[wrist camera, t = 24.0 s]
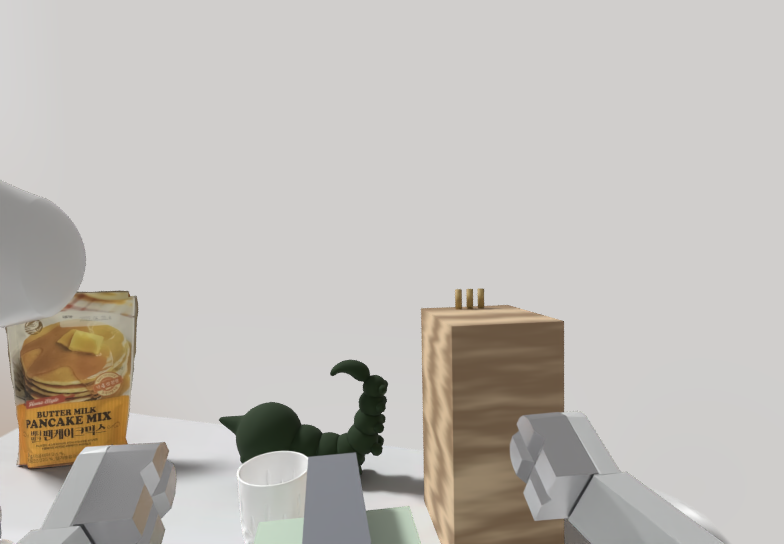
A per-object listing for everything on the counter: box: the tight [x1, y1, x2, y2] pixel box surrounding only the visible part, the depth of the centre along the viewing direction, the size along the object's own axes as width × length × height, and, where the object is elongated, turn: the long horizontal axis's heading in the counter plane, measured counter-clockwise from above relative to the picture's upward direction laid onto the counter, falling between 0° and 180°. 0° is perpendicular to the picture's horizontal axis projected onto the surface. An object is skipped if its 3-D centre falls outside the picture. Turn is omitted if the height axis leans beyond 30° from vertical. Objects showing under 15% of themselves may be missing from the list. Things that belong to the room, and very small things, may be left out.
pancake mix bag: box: [5, 291, 138, 468], centre depth 72 cm, size 7×19×28 cm, turn 103°
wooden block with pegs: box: [421, 289, 564, 544], centre depth 51 cm, size 14×12×28 cm
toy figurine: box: [219, 360, 388, 475], centre depth 64 cm, size 9×19×25 cm
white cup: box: [237, 451, 308, 544], centre depth 48 cm, size 8×8×10 cm
